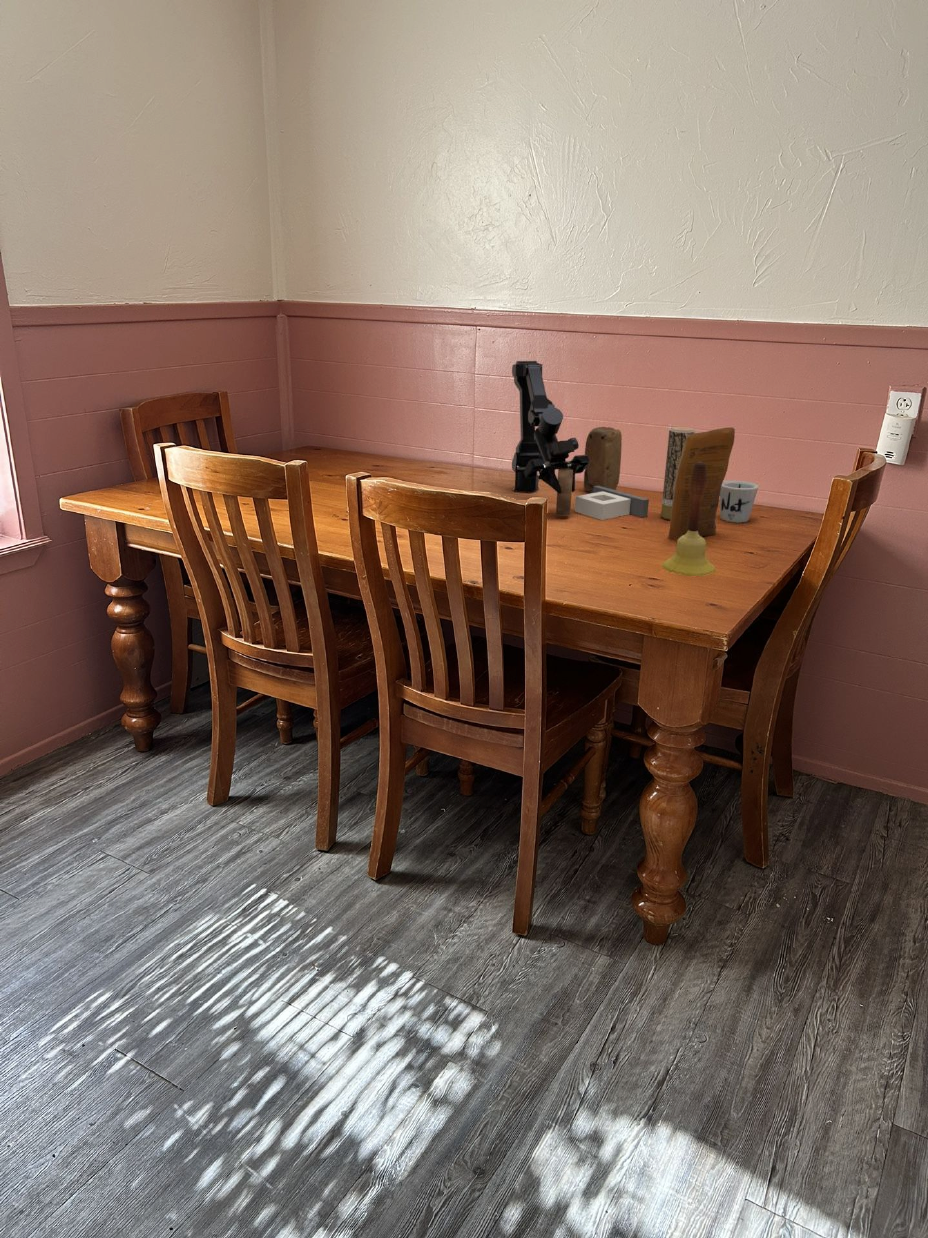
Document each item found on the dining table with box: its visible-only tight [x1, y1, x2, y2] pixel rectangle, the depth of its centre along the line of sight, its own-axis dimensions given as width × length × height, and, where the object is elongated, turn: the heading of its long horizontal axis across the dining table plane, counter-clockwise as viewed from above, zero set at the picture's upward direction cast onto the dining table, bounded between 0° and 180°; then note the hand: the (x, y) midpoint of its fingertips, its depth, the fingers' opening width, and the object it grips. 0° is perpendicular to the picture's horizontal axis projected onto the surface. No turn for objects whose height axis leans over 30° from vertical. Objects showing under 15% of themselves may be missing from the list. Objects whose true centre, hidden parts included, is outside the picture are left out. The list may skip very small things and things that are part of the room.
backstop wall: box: [593, 486, 650, 518], centre depth 255 cm, size 20×2×5 cm, turn 37°
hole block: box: [574, 491, 631, 521], centre depth 251 cm, size 11×11×4 cm
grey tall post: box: [660, 426, 696, 521], centre depth 243 cm, size 7×7×25 cm
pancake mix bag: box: [667, 427, 736, 540], centre depth 227 cm, size 7×19×28 cm, turn 118°
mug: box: [719, 480, 759, 524], centre depth 248 cm, size 10×15×10 cm
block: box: [583, 426, 623, 494], centre depth 271 cm, size 11×8×20 cm
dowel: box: [555, 468, 573, 517], centre depth 244 cm, size 4×4×12 cm
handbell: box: [661, 462, 716, 577], centre depth 202 cm, size 12×12×25 cm
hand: (567, 492), depth 243 cm, fingers closed on dowel, 4 cm apart
